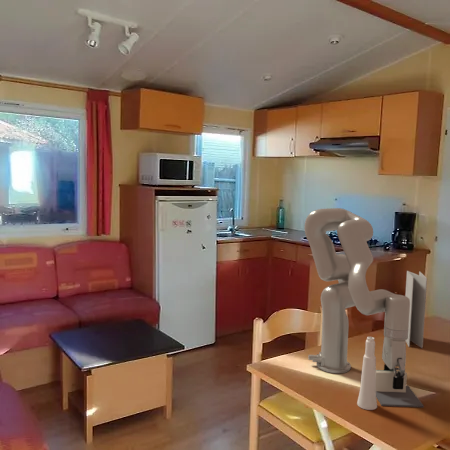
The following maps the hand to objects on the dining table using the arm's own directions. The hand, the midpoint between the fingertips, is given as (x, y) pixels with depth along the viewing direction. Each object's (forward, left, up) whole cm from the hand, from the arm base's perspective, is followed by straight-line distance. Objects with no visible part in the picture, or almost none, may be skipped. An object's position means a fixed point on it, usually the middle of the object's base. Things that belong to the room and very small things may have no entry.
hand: (393, 382), depth 155 cm
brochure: (+24, +49, -4) cm, 55 cm away
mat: (0, -3, -3) cm, 5 cm away
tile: (-1, 0, -3) cm, 3 cm away
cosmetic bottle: (-11, -10, -4) cm, 15 cm away
